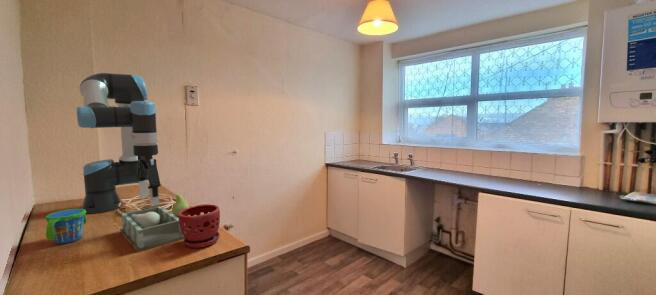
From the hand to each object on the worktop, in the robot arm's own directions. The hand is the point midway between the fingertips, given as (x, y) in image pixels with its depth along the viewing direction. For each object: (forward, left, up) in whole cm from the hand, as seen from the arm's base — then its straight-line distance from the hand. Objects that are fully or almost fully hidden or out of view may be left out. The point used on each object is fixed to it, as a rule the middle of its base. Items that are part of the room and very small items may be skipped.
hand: (149, 201), depth 108 cm
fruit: (-14, +15, -13) cm, 24 cm away
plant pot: (+20, +10, -13) cm, 26 cm away
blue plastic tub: (-17, -22, -13) cm, 31 cm away
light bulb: (-4, -3, -9) cm, 10 cm away
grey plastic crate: (0, 0, -13) cm, 13 cm away
